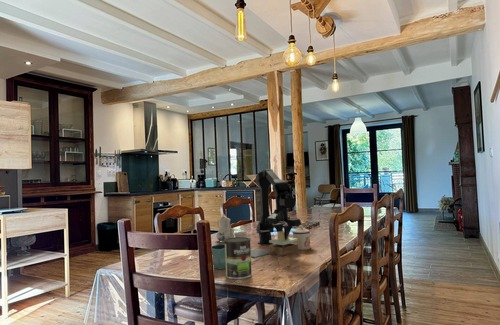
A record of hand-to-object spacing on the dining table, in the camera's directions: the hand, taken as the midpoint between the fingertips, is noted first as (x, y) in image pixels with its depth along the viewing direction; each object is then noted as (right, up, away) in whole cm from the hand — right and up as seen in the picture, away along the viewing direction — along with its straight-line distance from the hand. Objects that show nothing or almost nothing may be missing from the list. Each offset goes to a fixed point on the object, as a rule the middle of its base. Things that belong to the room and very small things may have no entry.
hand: (283, 239), depth 164 cm
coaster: (-14, -8, +1) cm, 16 cm away
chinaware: (-29, -10, +41) cm, 51 cm away
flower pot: (-29, -8, -20) cm, 36 cm away
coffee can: (-21, -7, -33) cm, 40 cm away
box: (0, -7, 0) cm, 7 cm away
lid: (0, -1, 0) cm, 1 cm away
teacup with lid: (+11, -7, +10) cm, 17 cm away
